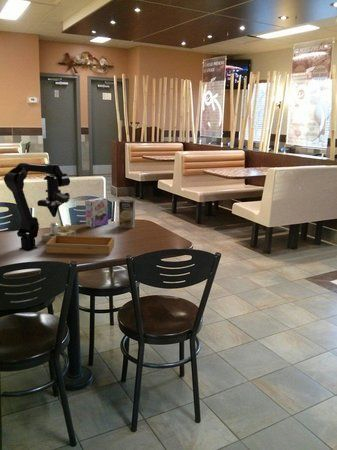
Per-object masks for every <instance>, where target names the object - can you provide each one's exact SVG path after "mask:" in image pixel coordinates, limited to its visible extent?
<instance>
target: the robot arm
mask: <svg viewBox="0 0 337 450" xmlns="http://www.w3.org/2000/svg"><path fill="white" fill-rule="evenodd" d="M29 172H31V173H32V172H35V173H42V174H44V175H46V176H45V177H44V178H43V181H46V186H47V188H46V189H45V193H47V197H45V199H39V200H38V201H37V202H36V204H37V207H44V208H45V207H46V208H47V209H48V211H49V213H50V215H51V216H52V218H55V217H56V216H57V213H58V210H59V207H60V206H61V205H63V204H65V203H68V202H69V201H70V197H71V196H70V193H69V192H65V193H62V192H61V191H62V190H61V189H60V187H68V186H69V185H70V183H71V180H70V177H69V176H68V174H67V173H64V172H62V170H61V168H60V166H59V165H58V164H56V163H43V164H32V163H27V162H20V163H18V164H17V165H16V166H15V167H14V168H12V169H10V170H9V171H8V172H7V173H5V175H4V177H3V182H4V184H5V186H6V188H8V189H9V191H10V192H12V197H13V199H14V202H15V204H16V207H17V209H18V212H19V215H20V222H19V223H20V227H19V229H18V231H17V232H16V234H17V237H19V238H20V246H21V247H18V248H19V250H21V251H25V252H26V251H27V252H29V251H32V250H35V249H37V248H38V246H37V245H36V238H38V233H39V230H40V223H39V221H38V217H34V216H33V215H32V214H31V213H32V212H31V210H30V208H29V205H28V202H27V198H26V196H25V191H24V186H25V182H24V181H25V179H27V176H28V173H29Z"/></svg>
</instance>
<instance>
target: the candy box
mask: <svg viewBox="0 0 337 450" xmlns="http://www.w3.org/2000/svg"><path fill="white" fill-rule="evenodd" d="M108 201H109V200H108V198H107V197H98V198H91V199H85V206H84V207H85V227H88V228H92V229H93V228H96V227H97V228H98V227H102V226H105V225H108V224H109V208H108V207H109V204H108V203H109V202H108Z"/></svg>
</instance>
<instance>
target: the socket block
mask: <svg viewBox="0 0 337 450" xmlns="http://www.w3.org/2000/svg"><path fill="white" fill-rule="evenodd" d="M58 232H59V235H63V236H77V232H76V230H72V229H70V231H69V232H65V231H61V228H60V229H59V228H58ZM53 237H54V236H51V231H50V232H48V233H45V234H42V235H41V241H42V242H46V243H47V242H48V241H49V240H50V239H52V238H53Z"/></svg>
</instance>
